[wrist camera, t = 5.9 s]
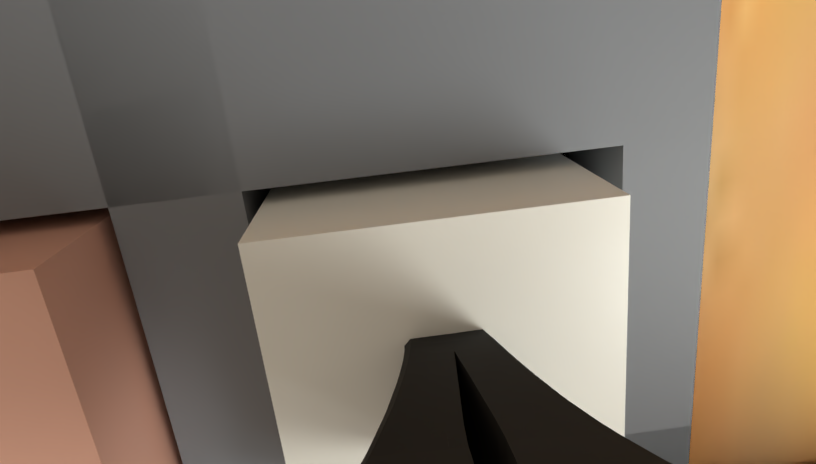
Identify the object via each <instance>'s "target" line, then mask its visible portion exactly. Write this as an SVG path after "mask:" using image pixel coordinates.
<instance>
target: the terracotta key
mask: <svg viewBox="0 0 816 464" xmlns="http://www.w3.org/2000/svg"><path fill="white" fill-rule="evenodd" d="M0 464H183V462H182V459H181V456H180V452H179V449H178V445H177V442H176V439H175V435H174V432H173V428H172V425H171V421H170V418H169V415H168V411H167V408H166V404H165V401H164V398H163V394H162V391H161V387H160V384H159V380H158V377H157V374H156V370H155V367H154V363H153V360H152V357H151V353H150V350H149V346H148V343H147V339H146V336H145V333H144V329H143V326H142V322H141V319H140V315H139V312H138V309H137V305H136V302H135V298H134V295H133V292H132V288H131V285H130V281H129V278H128V274H127V271H126V268H125V264H124V261H123V257H122V254H121V251H120V247H119V244H118V240H117V237H116V233H115V230H114V227H113V223H112V220H111V216H110V213H109V210H108V208H101V209H93V210H84V211H76V212H68V213H60V214H51V215H43V216H35V217H27V218H18V219H10V220H2V221H0Z"/></svg>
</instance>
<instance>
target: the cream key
mask: <svg viewBox="0 0 816 464" xmlns="http://www.w3.org/2000/svg"><path fill="white" fill-rule="evenodd" d="M630 197H631V195H629V194H628V193H626V192H624V191H623V190H621V189H619V188H617V187H616V186H614V185H612V184H611V183H609V182H607V181H606V180H604V179H602V178H600V177H599V176H597V175H595V174H594V173H592V172H590V171H589V170H587V169H585V168H584V167H582V166H580V165H578V164H577V163H575V162H573V161H572V160H570V159H568V158H567V157H565V156H563V155H561V154H560V153H556V154H548V155H539V156H531V157H523V158H515V159H506V160H498V161H490V162H482V163H473V164H465V165H457V166H448V167H440V168H432V169H424V170H415V171H407V172H399V173H391V174H382V175H374V176H366V177H357V178H349V179H341V180H333V181H324V182H316V183H308V184H300V185H291V186H283V187H275V188H271V190H270V191H269V193H268V195H267V196H266V198H265V200H264V201H263V203H262V205H261V206H260V208H259V210H258V211H257V213H256V215H255V216H254V218H253V219H252V221H251V223H250V224H249V226H248V228H247V229H246V231H245V233H244V234H243V236H242V238H241V239H240V241H239V243H238V248H239V252H240V257H241V262H242V266H243V271H244V275H245V280H246V284H247V289H248V294H249V298H250V303H251V307H252V312H253V316H254V321H255V326H256V330H257V335H258V339H259V344H260V348H261V353H262V358H263V362H264V367H265V371H266V376H267V381H268V385H269V390H270V394H271V399H272V403H273V408H274V413H275V417H276V422H277V426H278V431H279V435H280V440H281V445H282V449H283V454H284V458H285V463H286V464H361V462H362V461H363V459H364V457H365V455H366V453H367V451H368V449H369V447H370V445H371V443H372V441H373V439H374V437H375V435H376V432H377V430H378V428H379V426H380V424H381V422H382V420H383V418H384V415H385V413H386V411H387V408H388V405H389V403H390V400H391V397H392V395H393V392H394V389H395V387H396V384H397V381H398V377H399V374H400V371H401V367H402V363H403V358H404V346H405V345H406V343H407V342H408V341H409V340H410V339H413V338H421V337H428V336H436V335H444V334H451V333H459V332H466V331H473V330H481V329H483V330H484V331H485V332H487V333H488V334H489V335H490V336H491V337H493V338H494V339H495V340H496V341H497V342H498V343H499V344H500V345H501V346H503V347H504V348H505V349H506V350H507V351H508V352H509V353H510V354H512V355H513V356H514V357H515V358H516V359H517V360H518V361H520V362H521V363H522V364H523V365H524V366H525V367H527V368H528V369H529V370H530V371H531V372H533V373H534V374H535V375H536V376H538V377H539V378H540V379H541V380H543V381H544V382H545V383H546V384H548V385H549V386H550V387H551V388H553V389H554V390H555V391H557V392H558V393H559V394H560V395H562V396H563V397H564V398H566V399H567V400H568V401H570V402H571V403H573V404H574V405H576V406H577V407H579V408H580V409H582V410H583V411H585V412H586V413H587V414H589V415H590V416H592V417H593V418H595V419H596V420H598V421H599V422H601V423H602V424H604V425H606V426H607V427H609V428H610V429H612V430H614V431H615V432H617V433H618V434H620V435H622V436H624V437H625V398H626V358H627V317H628V277H629V237H630Z"/></svg>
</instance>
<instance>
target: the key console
mask: <svg viewBox="0 0 816 464" xmlns="http://www.w3.org/2000/svg"><path fill="white" fill-rule="evenodd" d="M721 2H722V0H0V221H2V220H10V219H18V218H27V217H35V216H43V215H51V214H60V213H68V212H76V211H84V210H93V209H101V208H108V210H109V213H110V216H111V220H112V223H113V227H114V230H115V233H116V237H117V240H118V244H119V247H120V251H121V254H122V257H123V261H124V264H125V268H126V271H127V274H128V278H129V281H130V285H131V288H132V292H133V295H134V298H135V302H136V305H137V309H138V312H139V315H140V319H141V322H142V326H143V329H144V333H145V336H146V339H147V343H148V346H149V350H150V353H151V357H152V360H153V363H154V367H155V370H156V374H157V377H158V380H159V384H160V387H161V391H162V394H163V398H164V401H165V404H166V408H167V411H168V415H169V418H170V421H171V425H172V428H173V432H174V435H175V439H176V442H177V445H178V449H179V452H180V456H181V459H182V462H183V464H286V463H285V458H284V454H283V449H282V445H281V440H280V435H279V431H278V426H277V422H276V417H275V413H274V408H273V403H272V399H271V394H270V390H269V385H268V381H267V376H266V371H265V367H264V362H263V358H262V353H261V348H260V344H259V339H258V335H257V330H256V326H255V321H254V316H253V312H252V307H251V303H250V298H249V294H248V289H247V284H246V280H245V275H244V271H243V266H242V262H241V257H240V252H239V248H238V243H239V241H240V239H241V238H242V236H243V234H244V233H245V231H246V229H247V228H248V226H249V224H250V223H251V221H252V219H253V218H254V216H255V215H256V213H257V211H258V210H259V208H260V206H261V205H262V203H263V201H264V200H265V198H266V196H267V195H268V193H269V191H270V190H271V188H275V187H283V186H291V185H300V184H308V183H316V182H324V181H333V180H341V179H349V178H357V177H366V176H374V175H382V174H391V173H399V172H407V171H415V170H424V169H432V168H440V167H448V166H457V165H465V164H473V163H482V162H490V161H498V160H506V159H515V158H523V157H531V156H539V155H548V154H556V153H564V152H569V159H570V160H572V161H573V162H575V163H577V164H578V165H580V166H582V167H584V168H585V169H587V170H589V171H590V172H592V173H594V174H595V175H597V176H599V177H600V178H602V179H604V180H606V181H607V182H609V183H611V184H612V185H614V186H616V187H617V188H619V189H621V190H623V191H624V192H626V193H628V194H629V195H631V197H630V237H629V277H628V317H627V358H626V398H625V438H627V439H629V440H631V441H632V442H634V443H636V444H638V445H639V446H641V447H643V448H645V449H646V450H648V451H650V452H652V453H653V454H655V455H657V456H659V457H660V458H662V459H664V460H666V461H668V462H670V463H672V464H689V450H690V436H691V422H692V408H693V394H694V380H695V366H696V352H697V338H698V324H699V310H700V296H701V282H702V268H703V254H704V240H705V226H706V212H707V198H708V184H709V170H710V156H711V142H712V128H713V114H714V100H715V86H716V72H717V58H718V44H719V30H720V16H721Z"/></svg>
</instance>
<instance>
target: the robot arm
mask: <svg viewBox="0 0 816 464" xmlns="http://www.w3.org/2000/svg"><path fill="white" fill-rule="evenodd" d="M361 464H672V463H670V462H668V461H666V460H664V459H662V458H660V457H659V456H657V455H655V454H653V453H652V452H650V451H648V450H646V449H645V448H643V447H641V446H639V445H638V444H636V443H634V442H632V441H631V440H629V439H627V438H625V437H624V436H622V435H620V434H618V433H617V432H615V431H614V430H612V429H610V428H609V427H607V426H606V425H604V424H602V423H601V422H599V421H598V420H596V419H595V418H593V417H592V416H590V415H589V414H587V413H586V412H585V411H583V410H582V409H580V408H579V407H577V406H576V405H574V404H573V403H571V402H570V401H568V400H567V399H566V398H564V397H563V396H562V395H560V394H559V393H558V392H557V391H555V390H554V389H553V388H551V387H550V386H549V385H548V384H546V383H545V382H544V381H543V380H541V379H540V378H539V377H538V376H536V375H535V374H534V373H533V372H531V371H530V370H529V369H528V368H527V367H525V366H524V365H523V364H522V363H521V362H520V361H518V360H517V359H516V358H515V357H514V356H513V355H512V354H510V353H509V352H508V351H507V350H506V349H505V348H504V347H503V346H501V345H500V344H499V343H498V342H497V341H496V340H495V339H494V338H493V337H491V336H490V335H489V334H488V333H487V332H485V331H484V330H483V329H481V330H473V331H466V332H459V333H451V334H444V335H436V336H428V337H421V338H413V339H410V340H409V341H408V342H407V343H406V345H405V346H404V358H403V363H402V367H401V371H400V374H399V377H398V381H397V384H396V387H395V389H394V392H393V395H392V397H391V400H390V403H389V405H388V408H387V411H386V413H385V415H384V418H383V420H382V422H381V424H380V426H379V428H378V430H377V432H376V435H375V437H374V439H373V441H372V443H371V445H370V447H369V449H368V451H367V453H366V455H365V457H364V459H363V461H362V462H361Z"/></svg>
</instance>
